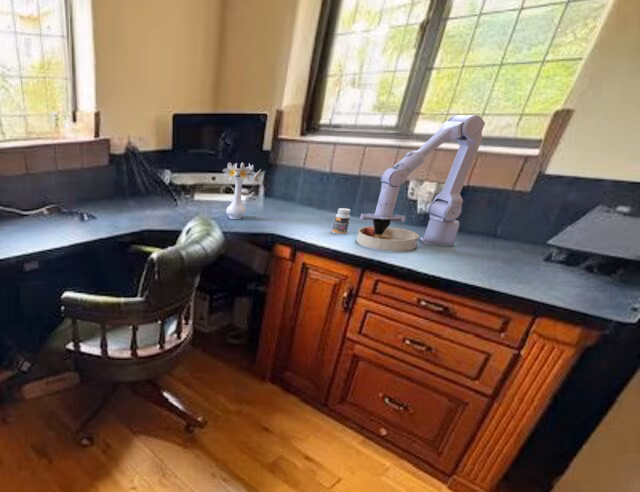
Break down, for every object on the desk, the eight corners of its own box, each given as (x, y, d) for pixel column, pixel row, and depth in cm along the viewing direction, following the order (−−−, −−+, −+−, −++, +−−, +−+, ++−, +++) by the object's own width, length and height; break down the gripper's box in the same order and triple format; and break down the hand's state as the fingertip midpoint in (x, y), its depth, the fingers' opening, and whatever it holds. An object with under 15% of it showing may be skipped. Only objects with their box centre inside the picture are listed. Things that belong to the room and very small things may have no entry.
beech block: (383, 244, 160) (386, 234, 158) (387, 247, 156) (390, 237, 154) (372, 244, 160) (375, 234, 158) (376, 247, 157) (379, 236, 155)
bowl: (408, 239, 167) (411, 227, 165) (421, 254, 151) (425, 242, 148) (352, 235, 173) (355, 225, 171) (359, 250, 156) (362, 238, 154)
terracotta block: (379, 238, 166) (381, 228, 164) (370, 239, 165) (373, 229, 164) (371, 236, 170) (374, 226, 168) (363, 237, 169) (365, 227, 167)
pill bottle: (331, 234, 176) (336, 210, 171) (332, 230, 180) (337, 207, 175) (345, 235, 173) (351, 211, 169) (346, 232, 178) (352, 208, 173)
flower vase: (252, 222, 195) (259, 165, 183) (214, 219, 203) (218, 163, 191) (259, 216, 205) (266, 161, 193) (222, 213, 213) (226, 160, 201)
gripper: (366, 204, 153) (357, 240, 160) (411, 206, 149) (400, 243, 156) (363, 200, 159) (354, 235, 166) (406, 202, 155) (396, 238, 161)
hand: (376, 239), depth 161 cm, fingers closed
